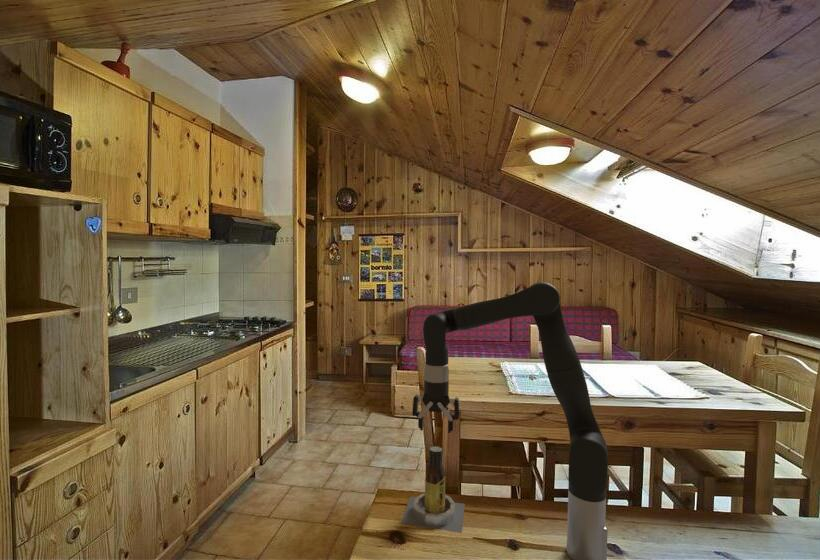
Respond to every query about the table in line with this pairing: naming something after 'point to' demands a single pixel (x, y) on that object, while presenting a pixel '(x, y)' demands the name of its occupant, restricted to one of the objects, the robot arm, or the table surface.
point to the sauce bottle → (435, 483)
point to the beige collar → (431, 518)
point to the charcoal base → (452, 526)
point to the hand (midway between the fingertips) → (435, 430)
